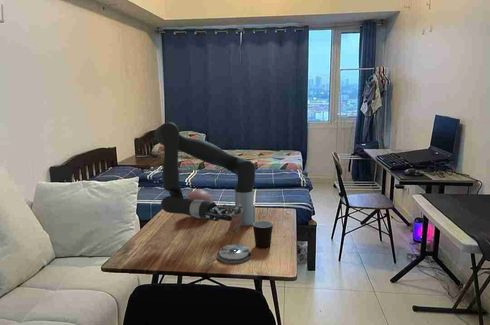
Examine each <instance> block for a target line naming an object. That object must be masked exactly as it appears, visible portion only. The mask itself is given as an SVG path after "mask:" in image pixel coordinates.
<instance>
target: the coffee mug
mask: <svg viewBox="0 0 490 325" xmlns="http://www.w3.org/2000/svg"><path fill="white" fill-rule="evenodd" d="M252 227H253V229H252V230H253V235H254V244H255V248H256V249H259V250H266V249H267V248H268V249H270V248H271V245H272V244H271V243H272V234H273V227H274V223H273V222H271V221H268V220H257V221H255V222H254V223H253V224H252ZM269 247H270V248H269ZM268 249H267V250H268Z"/></svg>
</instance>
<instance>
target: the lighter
mask: <svg viewBox="0 0 490 325" xmlns="http://www.w3.org/2000/svg"><path fill="white" fill-rule="evenodd" d="M241 208H242V205H241V204H239V205H237V206H236V208H235V209H234V211H233V212H232V214H230V215H231V221H229V222H230V223H229V224H230V225H229V227H228V232H229V233H232V234H234V233H236V232H238V231H239V230H240V228H241V226H240V222H241V217H242V213H243V209H241Z"/></svg>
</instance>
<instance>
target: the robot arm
mask: <svg viewBox="0 0 490 325" xmlns="http://www.w3.org/2000/svg"><path fill="white" fill-rule="evenodd" d="M153 136H154V138H155V141H156V142H157V143H158V144H160V145H162V146H163V150H164V153H163V154H164V156H163V162H162V163H163V164H162V184H163V190H165V191H167V192H168V193H169V195H168V196H165V197H163V198H162V200H161V202H160V207H161V209H162V210H163V211H164V212H166V213H170V214H177V215H179V214H180V215H181V214H183V215H186V216H189V217H191V216H194V217H197V218H201V219H202V220H203V219H204V220H208V221H212V222H219V221H225V222H231V217H232V216H231V214H232V212H233V211H234V209H235V208H236V206H237V205H239V204H241V205H242V208H241V209H243V213H242V217H241V222H240V227H248V226H253V223H254V222H256V206H255V204H254V187H255V184H256V183H255V182H256V167H255V165H254V162H252V161H251V160H248V159H246V158H243V157H238V156H236V155H233V154H230V153H228V152H226V151H225V150H223V149H222V148H220V147H219V146H218V145H215V144H214V143H211V142H209V141H206V140H204V139H203V140H202V139H199V138H193V137H188V136H185V135H182V134H180V130H179V127H178V125H176V124H175V123H174V122H173V121H172V122H171V121H168V122H164V123H163V124H161V125H159V126H158V127H157V128H156V129H155V131H154V134H153ZM179 151H180V152H183V154H184V153H185V154H187V155H189V156H191V157H193V158H195V159H197V160H200V161H202V162H204V163H207V164H210V165H213V166H217V167H221V168H224V169H226V170H227V171H230V173H232V174H233V175H236V176H237V183H236V184H235V185H234V205H230V204H223V205H217V203H216V202H215V201H213V202H211V201H205V200H195V199H185V198H184V195H183V192H182V189H181V186H180V176H179Z"/></svg>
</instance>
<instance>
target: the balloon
mask: <svg viewBox="0 0 490 325" xmlns="http://www.w3.org/2000/svg"><path fill="white" fill-rule="evenodd" d="M184 199H195V200H205V201H211V202H214V201H213V198H212V195H211V194H210V193H209V192H207V191H206V190H203V189H194V190H192V191H190V192H189V193H188V194H187V195H186V198H184ZM190 217H191V218H194V219H196V220H197V219H198V220H199V219H202V218H197V217H194V216H190Z"/></svg>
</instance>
